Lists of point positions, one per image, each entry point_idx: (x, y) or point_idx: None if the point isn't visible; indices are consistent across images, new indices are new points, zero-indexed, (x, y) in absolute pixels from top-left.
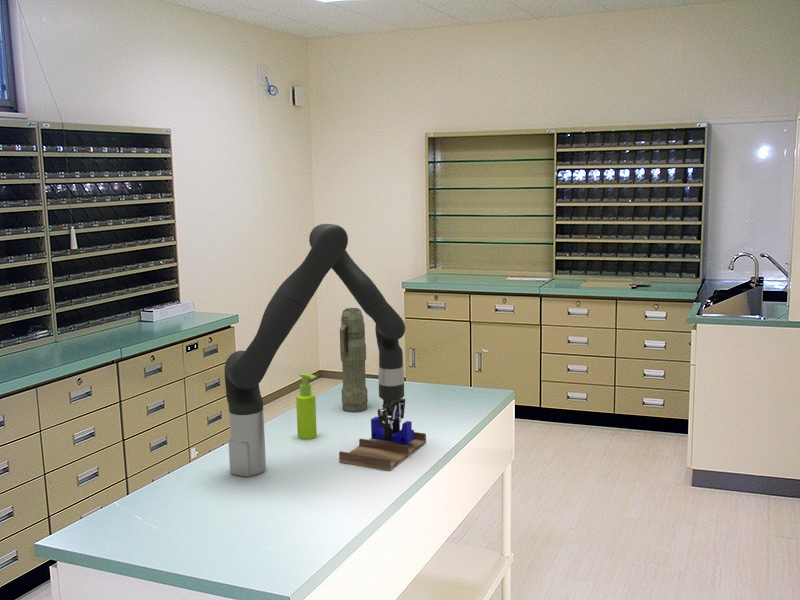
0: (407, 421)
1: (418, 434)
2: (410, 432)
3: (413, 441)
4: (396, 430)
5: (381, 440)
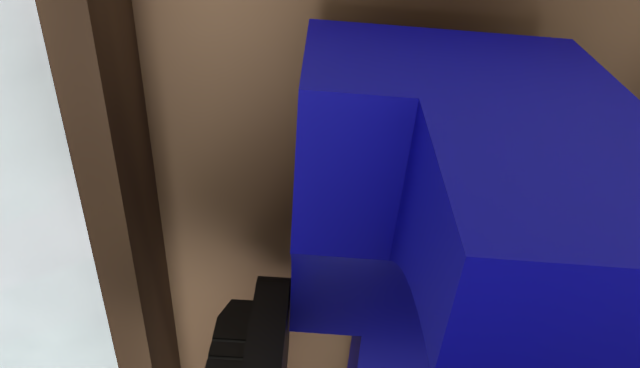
0: (487, 355)
1: (99, 24)
2: (477, 101)
3: (231, 45)
4: (286, 346)
5: (347, 363)
